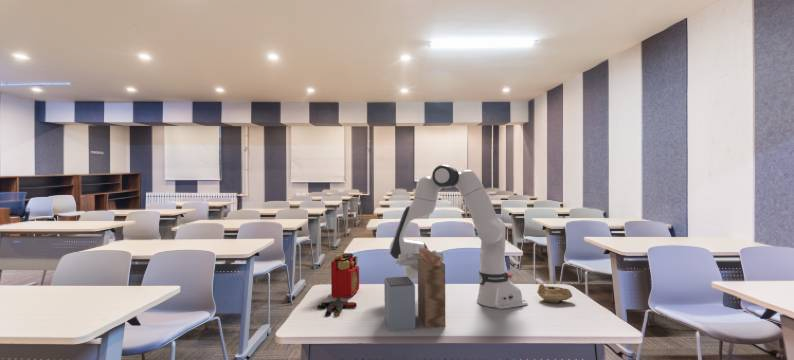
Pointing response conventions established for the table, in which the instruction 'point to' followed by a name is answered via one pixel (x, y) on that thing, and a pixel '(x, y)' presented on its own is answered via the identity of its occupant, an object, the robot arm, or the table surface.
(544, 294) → the oil lamp
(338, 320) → the table surface
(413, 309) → the dock
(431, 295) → the post
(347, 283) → the radio
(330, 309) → the toy
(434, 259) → the bar
